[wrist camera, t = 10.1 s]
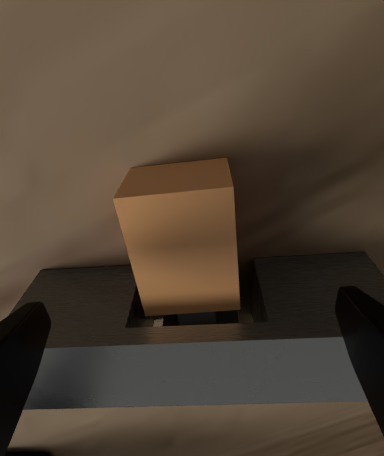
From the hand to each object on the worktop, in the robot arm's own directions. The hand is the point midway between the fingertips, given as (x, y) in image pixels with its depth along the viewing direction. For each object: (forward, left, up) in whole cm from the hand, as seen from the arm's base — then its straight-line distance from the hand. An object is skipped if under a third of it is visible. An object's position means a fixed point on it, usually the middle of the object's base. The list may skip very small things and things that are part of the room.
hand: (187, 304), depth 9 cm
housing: (-4, 0, -5) cm, 7 cm away
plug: (-2, 0, -5) cm, 6 cm away
